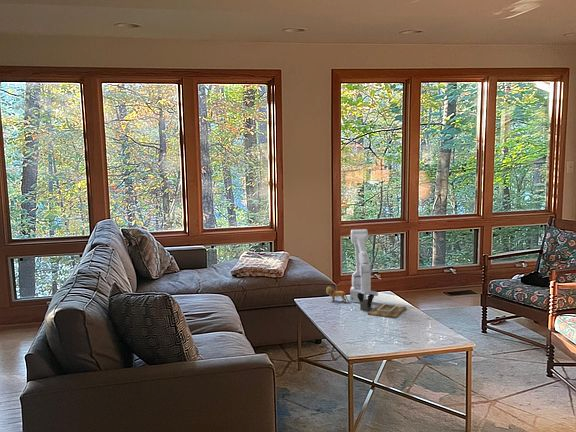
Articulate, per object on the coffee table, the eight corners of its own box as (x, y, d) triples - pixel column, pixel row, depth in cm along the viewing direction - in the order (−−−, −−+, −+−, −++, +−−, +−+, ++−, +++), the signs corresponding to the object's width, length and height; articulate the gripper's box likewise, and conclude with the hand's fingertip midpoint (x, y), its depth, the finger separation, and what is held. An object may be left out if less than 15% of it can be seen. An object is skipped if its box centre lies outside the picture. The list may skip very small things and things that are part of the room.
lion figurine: (325, 301, 349) (324, 287, 348) (327, 299, 354) (327, 285, 353) (348, 303, 344) (348, 288, 343) (350, 301, 349) (350, 286, 348)
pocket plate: (367, 314, 320) (367, 310, 320) (380, 305, 338) (380, 301, 337) (395, 318, 312) (395, 313, 312) (406, 308, 330) (406, 304, 330)
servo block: (359, 310, 328) (359, 301, 328) (365, 306, 336) (365, 297, 336) (366, 311, 326) (366, 301, 326) (371, 307, 334) (371, 298, 334)
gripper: (351, 284, 330) (351, 306, 331) (375, 286, 323) (375, 309, 324) (356, 281, 336) (356, 303, 337) (379, 283, 329) (379, 306, 330)
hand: (365, 306), depth 331 cm, fingers closed on servo block, 4 cm apart
